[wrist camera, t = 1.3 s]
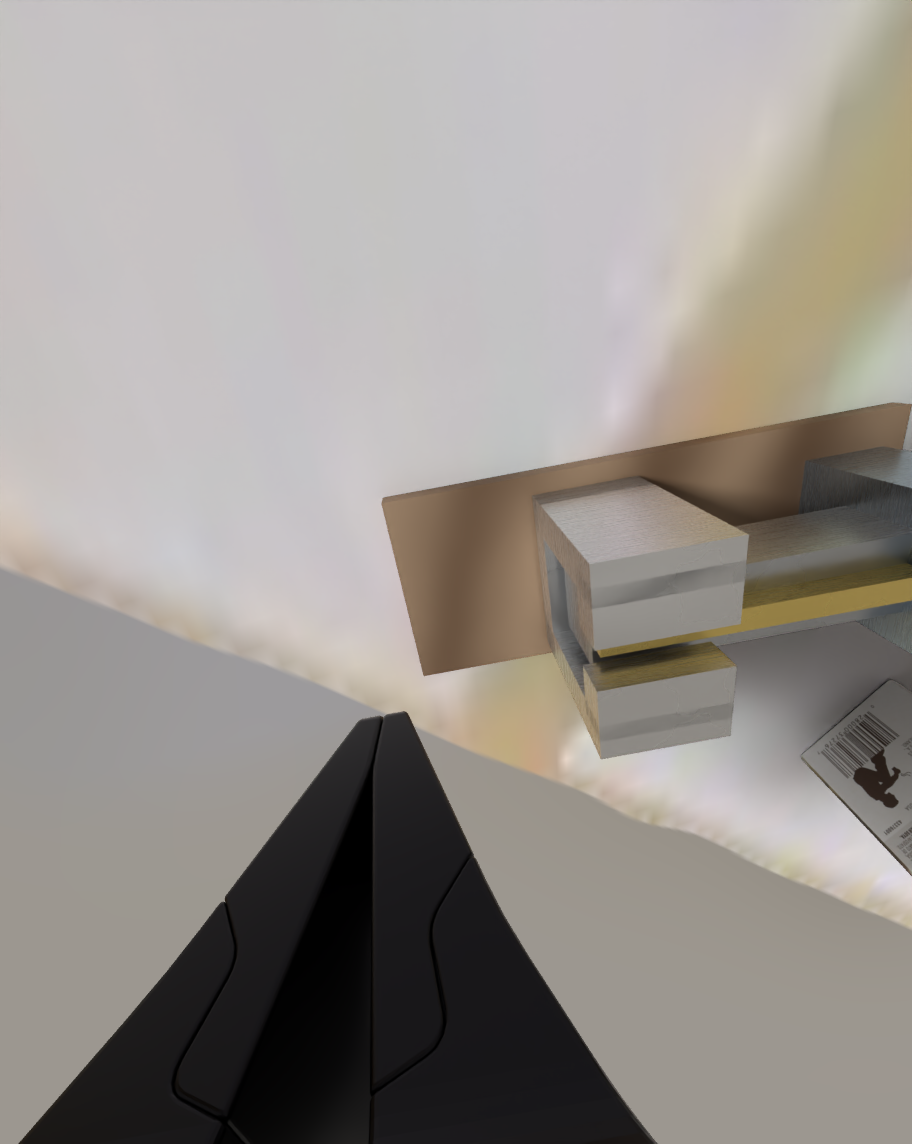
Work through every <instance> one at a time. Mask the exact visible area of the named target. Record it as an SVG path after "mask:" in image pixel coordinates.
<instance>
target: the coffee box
mask: <svg viewBox="0 0 912 1144" xmlns="http://www.w3.org/2000/svg"><path fill="white" fill-rule="evenodd" d="M801 759H802V760H803V761H804V763H805V764H806V765H807V766H808V767H809V768H810V769H811V770H812V771H813V772H814V773H815V774H816V775H817V776H818V777H819V778H820V779H821V780H822V781H823V783H824V784H825V785H826V786H827V787H828V788H829V789H830V790H831V791H832V792H833V793H834V794H835V795H836V796H837V797H838V798H839V799H840V800H841V801H842V802H843V804H844V805H845V806H846V807H847V808H848V809H849V810H850V811H851V812H852V813H853V814H854V815H855V816H856V817H857V818H858V820H859V821H860V822H861V823H862V824H863V825H864V826H865V827H866V828H867V829H868V830H869V831H870V832H871V833H872V834H873V835H874V837H875V838H876V839H877V840H878V841H879V842H880V843H881V844H882V845H883V846H884V847H885V848H886V849H887V850H888V851H889V852H890V853H891V855H892V856H893V857H894V858H895V859H896V860H897V861H898V862H899V863H900V864H901V865H902V866H903V867H904V868H905V869H906V871H907V872H908V873H909V874H910V875H911V876H912V692H911V691H909V690H908V689H906V688H905V687H903V686H902V685H900V684H899V683H897V682H896V681H894V680H889V681H887V682H886V683H885V684H884V685H882V686H881V687H880V688H879V689H878V690H877V691H875V692H874V693H873V694H872V695H871V696H870V697H868V698H867V699H866V700H865V701H864V702H863V703H862V704H860V705H859V706H858V707H857V708H856V709H855V710H853V711H852V712H851V713H850V714H849V715H848V716H847V717H845V718H844V719H843V720H842V721H841V722H840V723H838V724H837V725H836V726H835V727H834V728H832V729H831V730H830V731H829V732H828V733H826V734H825V735H824V736H823V737H822V738H821V739H820V740H819V741H817V742H816V743H815V744H814V745H812V746H811V747H810V748H809V749H808V750H807V751H805V752H804V753H803V754H802V757H801Z"/></svg>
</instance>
